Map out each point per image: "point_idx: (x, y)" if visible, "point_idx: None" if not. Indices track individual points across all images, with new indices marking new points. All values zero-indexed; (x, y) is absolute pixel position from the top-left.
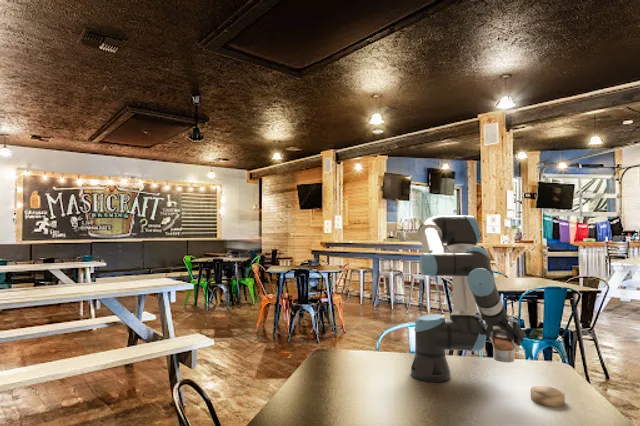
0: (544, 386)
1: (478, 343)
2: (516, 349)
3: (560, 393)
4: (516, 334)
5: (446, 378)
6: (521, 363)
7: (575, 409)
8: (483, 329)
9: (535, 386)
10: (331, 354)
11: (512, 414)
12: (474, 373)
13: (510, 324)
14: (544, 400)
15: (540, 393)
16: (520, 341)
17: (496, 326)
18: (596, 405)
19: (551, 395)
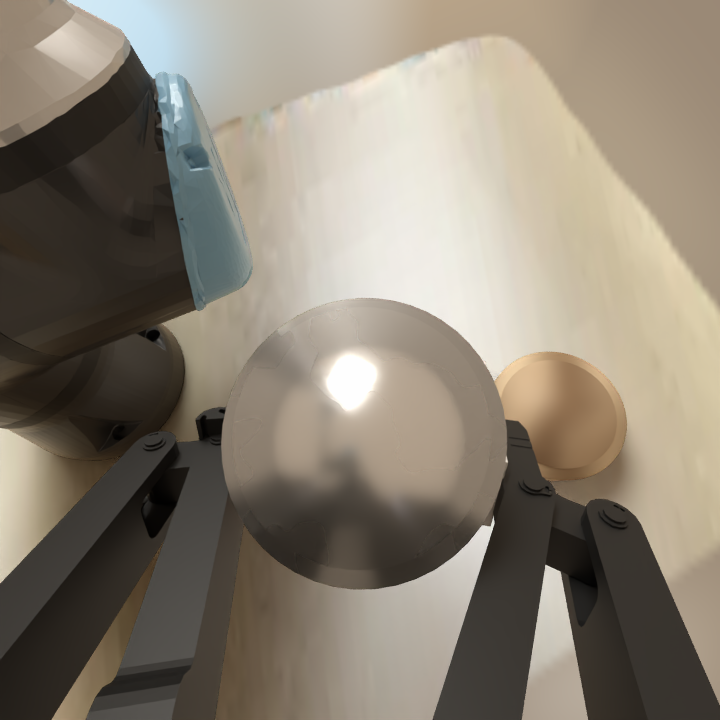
0: (536, 364)
1: (214, 294)
2: None
3: (611, 414)
4: (590, 707)
5: (168, 408)
6: (394, 101)
7: (649, 448)
8: (160, 478)
9: (501, 375)
10: None
11: (450, 649)
12: (261, 276)
13: (468, 449)
14: (551, 479)
15: (539, 462)
16: (526, 438)
17: (282, 556)
18: (703, 363)
19: (585, 462)
